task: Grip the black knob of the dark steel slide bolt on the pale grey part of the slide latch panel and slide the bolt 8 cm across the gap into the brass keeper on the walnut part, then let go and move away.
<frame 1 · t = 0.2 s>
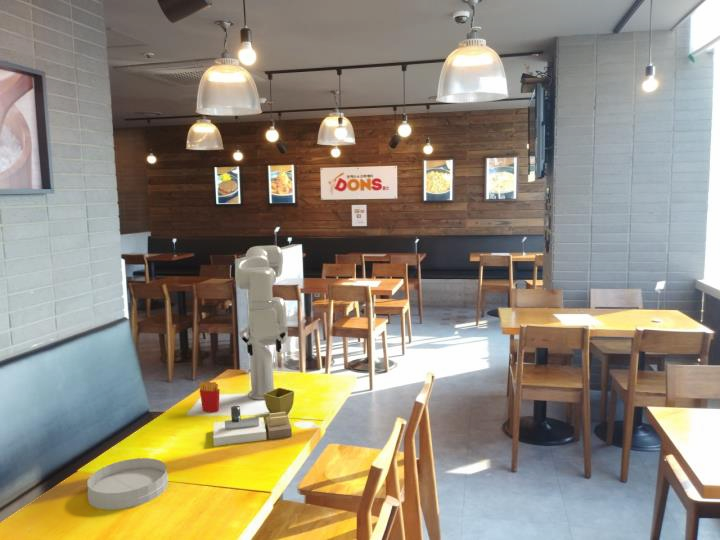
hand: (264, 353, 201), 30 cm above the table, tool pointing down, fingers open, 9 cm apart
flower pot: (280, 414, 225), on the table
french fries: (210, 411, 232), on the table
bolt: (241, 416, 206), point 7 cm above the table, slide at 0.0 cm
dish: (129, 491, 169), on the table
slide latch panel: (251, 433, 207), on the table
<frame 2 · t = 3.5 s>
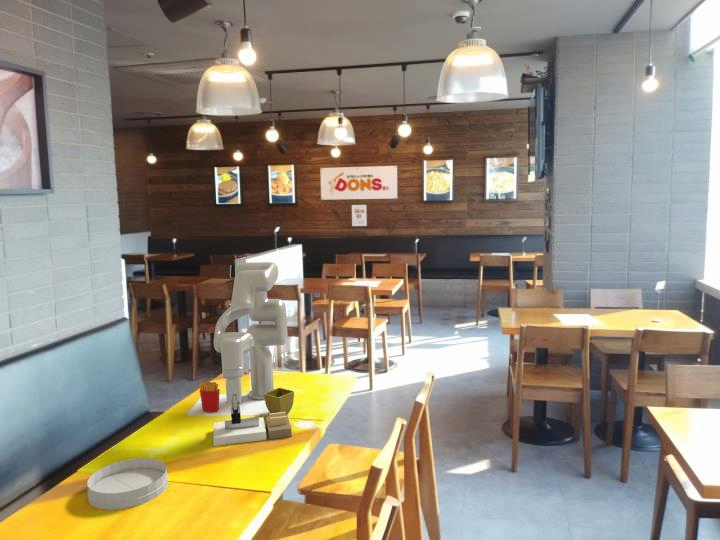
hand: (236, 420, 205), 5 cm above the table, tool pointing down, fingers closed on bolt, 3 cm apart
bolt: (241, 416, 206), point 7 cm above the table, slide at 0.0 cm, touching gripper
everything else where it was.
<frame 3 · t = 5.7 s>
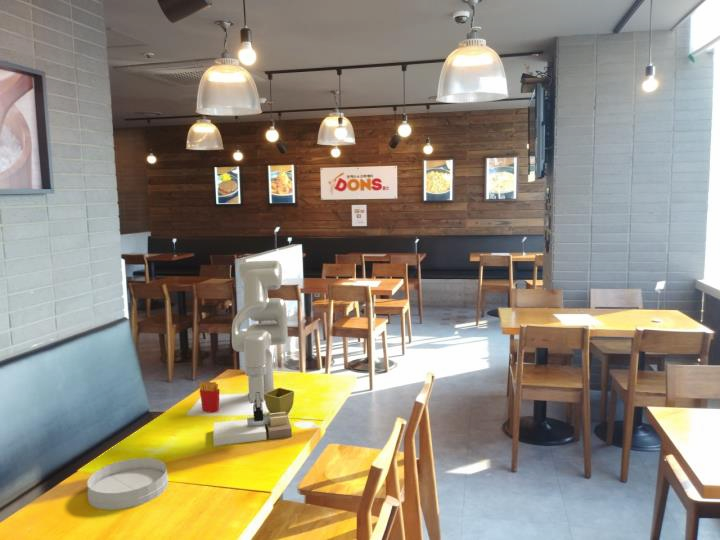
hand: (258, 418, 207), 5 cm above the table, tool pointing down, fingers closed on bolt, 3 cm apart
bolt: (263, 414, 207), point 7 cm above the table, slide at 7.9 cm, touching gripper
everything else where it was.
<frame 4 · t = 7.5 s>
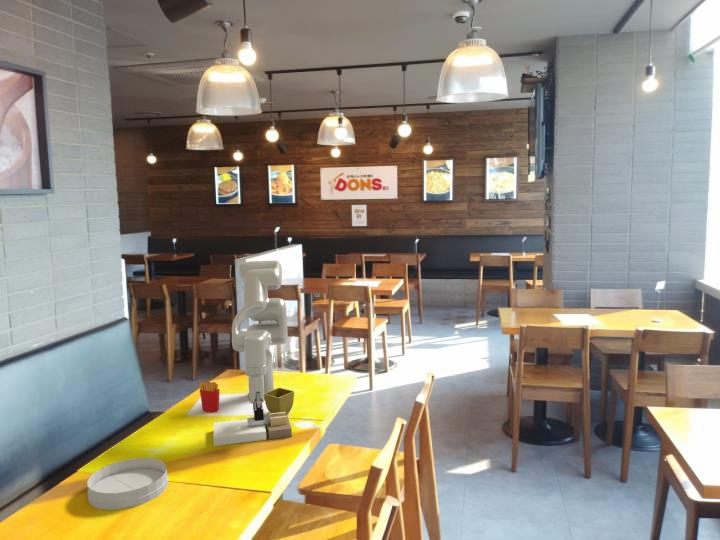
hand: (258, 415, 207), 7 cm above the table, tool pointing down, fingers open, 9 cm apart
bolt: (264, 414, 207), point 7 cm above the table, slide at 8.0 cm
everything else where it was.
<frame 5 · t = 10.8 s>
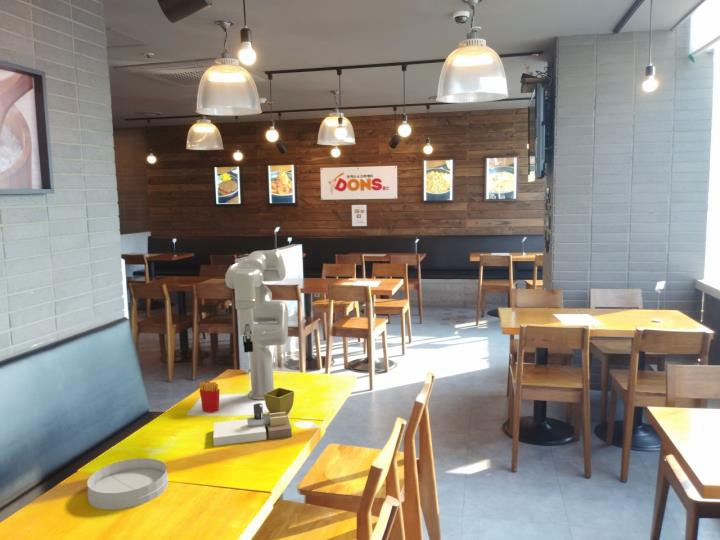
hand: (248, 348, 216), 28 cm above the table, tool pointing down, fingers open, 9 cm apart
nothing on the table moved.
at the end: bolt slide at 8.0 cm; the gripper is holding nothing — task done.
